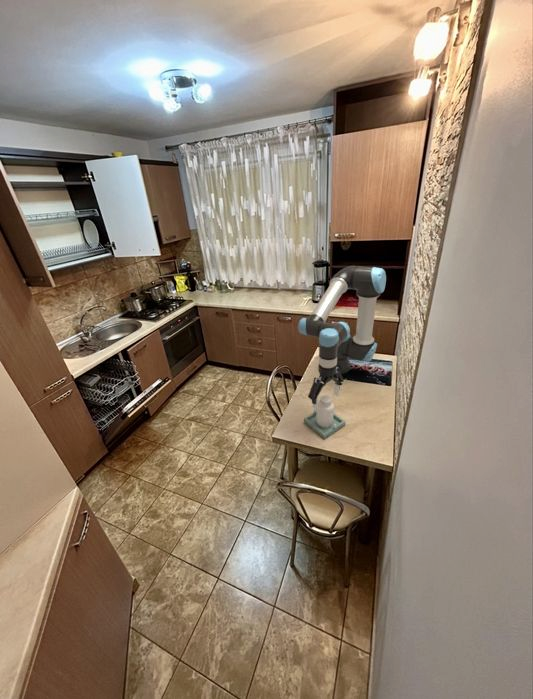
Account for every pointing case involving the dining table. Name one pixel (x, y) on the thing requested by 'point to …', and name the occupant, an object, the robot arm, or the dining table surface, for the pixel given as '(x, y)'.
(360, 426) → the dining table surface
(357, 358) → the robot arm
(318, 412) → the pill bottle
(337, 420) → the tray
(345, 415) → the dining table surface
